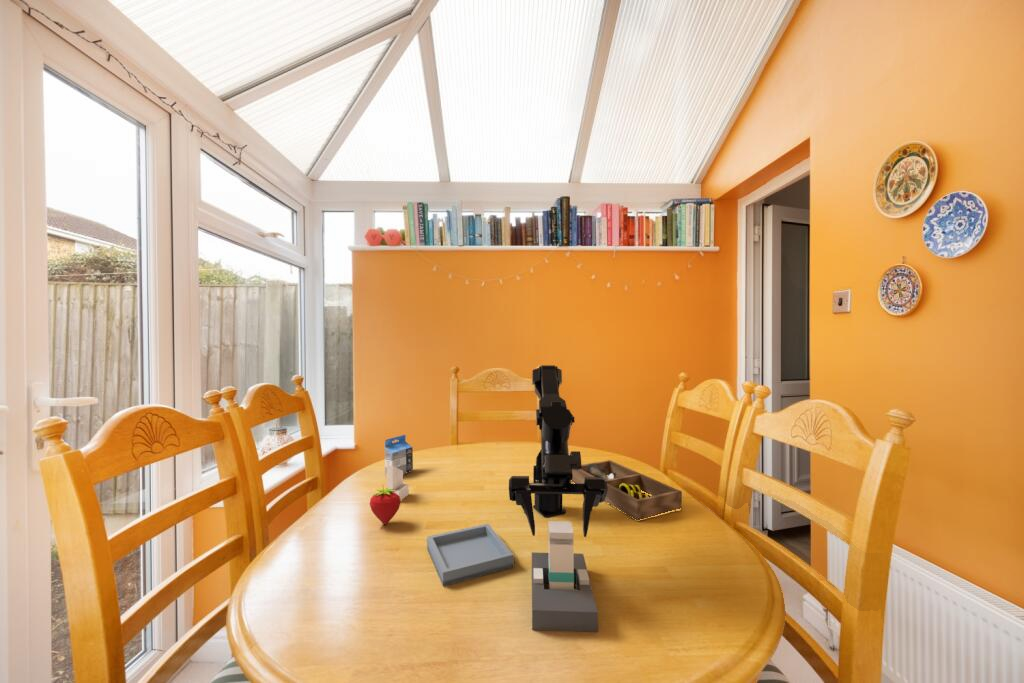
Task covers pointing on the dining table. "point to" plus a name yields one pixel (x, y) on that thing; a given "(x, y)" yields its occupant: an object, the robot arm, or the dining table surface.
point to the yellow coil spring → (632, 490)
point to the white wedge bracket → (397, 481)
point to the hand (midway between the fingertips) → (559, 535)
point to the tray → (468, 554)
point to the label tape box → (398, 454)
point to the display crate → (639, 509)
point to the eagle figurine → (600, 472)
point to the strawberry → (385, 504)
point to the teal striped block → (560, 556)
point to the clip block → (562, 599)
